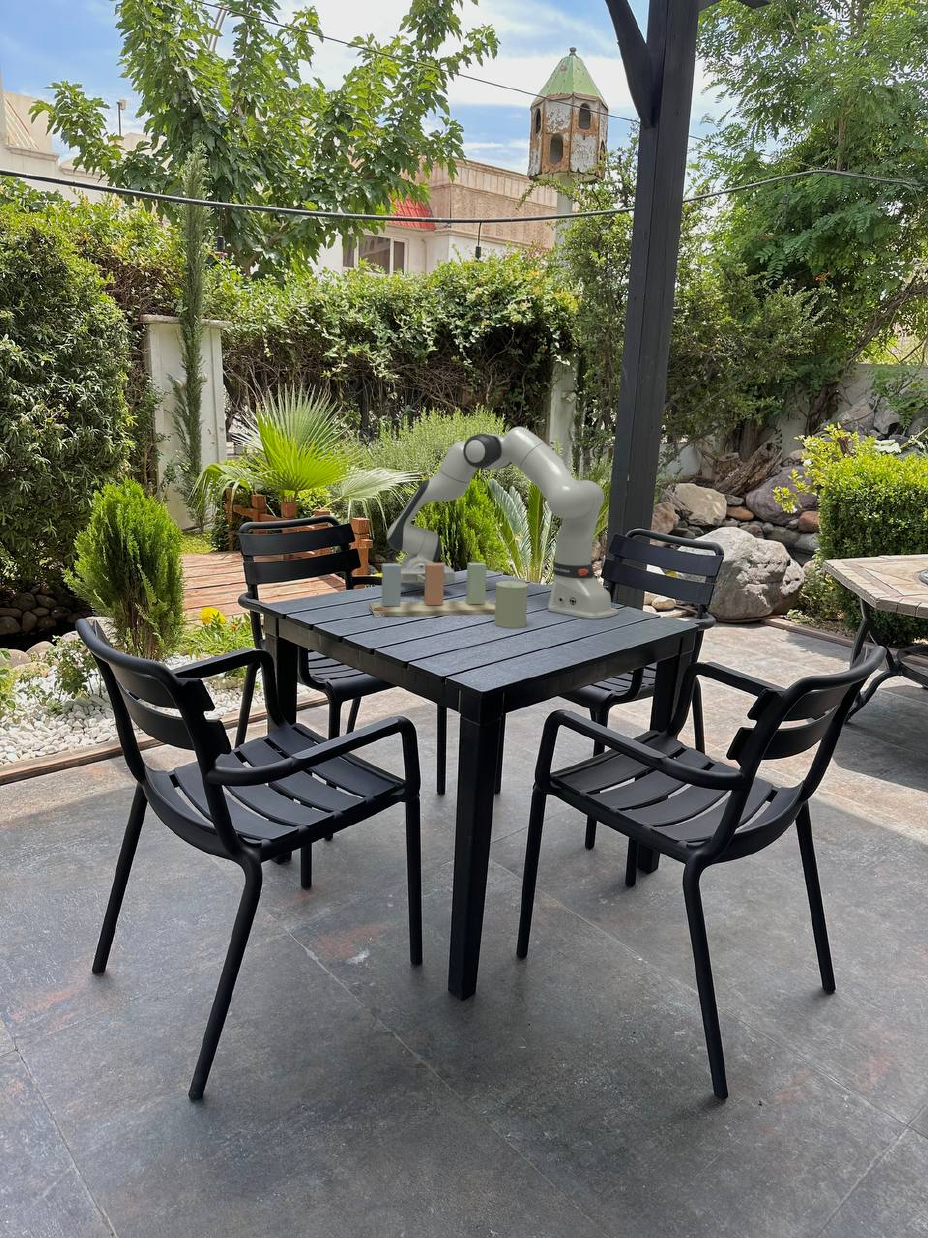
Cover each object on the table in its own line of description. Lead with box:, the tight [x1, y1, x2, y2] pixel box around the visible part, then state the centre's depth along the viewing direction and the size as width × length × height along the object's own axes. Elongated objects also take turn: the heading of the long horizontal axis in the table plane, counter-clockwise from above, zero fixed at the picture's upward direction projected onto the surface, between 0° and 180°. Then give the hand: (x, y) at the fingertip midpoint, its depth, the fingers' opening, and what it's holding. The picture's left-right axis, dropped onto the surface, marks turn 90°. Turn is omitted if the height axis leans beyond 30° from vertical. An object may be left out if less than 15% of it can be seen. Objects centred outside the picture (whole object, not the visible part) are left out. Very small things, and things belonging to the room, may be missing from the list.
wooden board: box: [369, 599, 496, 617], centre depth 237 cm, size 38×12×2 cm, turn 103°
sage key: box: [465, 562, 488, 604], centre depth 241 cm, size 5×4×12 cm
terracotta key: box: [423, 563, 445, 605], centre depth 238 cm, size 5×4×12 cm
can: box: [493, 580, 529, 629], centre depth 224 cm, size 9×9×12 cm
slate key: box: [381, 562, 402, 606], centre depth 235 cm, size 5×4×12 cm
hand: (427, 580), depth 249 cm, fingers closed
